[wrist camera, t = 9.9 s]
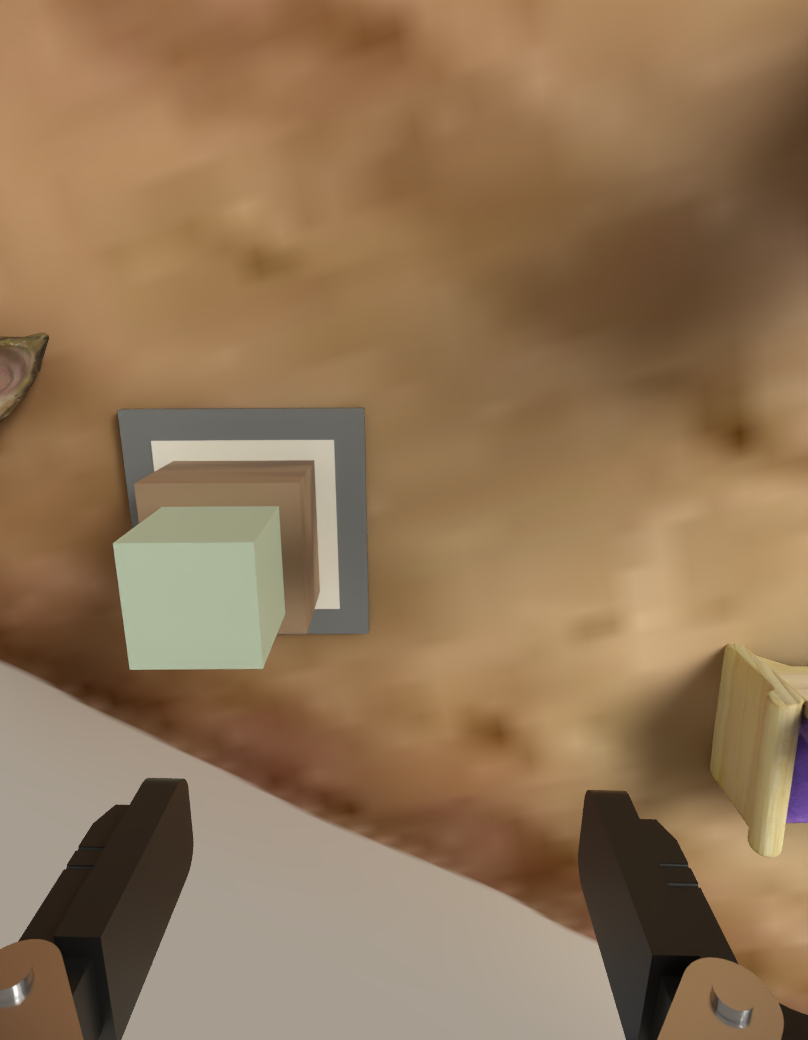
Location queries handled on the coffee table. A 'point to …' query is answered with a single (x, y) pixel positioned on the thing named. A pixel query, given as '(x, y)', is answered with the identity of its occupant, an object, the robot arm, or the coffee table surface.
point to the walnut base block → (252, 487)
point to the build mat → (277, 437)
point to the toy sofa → (762, 744)
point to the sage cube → (201, 587)
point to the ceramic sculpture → (19, 368)
